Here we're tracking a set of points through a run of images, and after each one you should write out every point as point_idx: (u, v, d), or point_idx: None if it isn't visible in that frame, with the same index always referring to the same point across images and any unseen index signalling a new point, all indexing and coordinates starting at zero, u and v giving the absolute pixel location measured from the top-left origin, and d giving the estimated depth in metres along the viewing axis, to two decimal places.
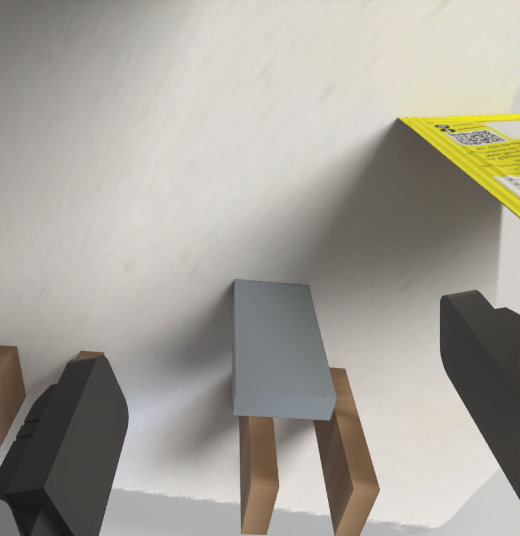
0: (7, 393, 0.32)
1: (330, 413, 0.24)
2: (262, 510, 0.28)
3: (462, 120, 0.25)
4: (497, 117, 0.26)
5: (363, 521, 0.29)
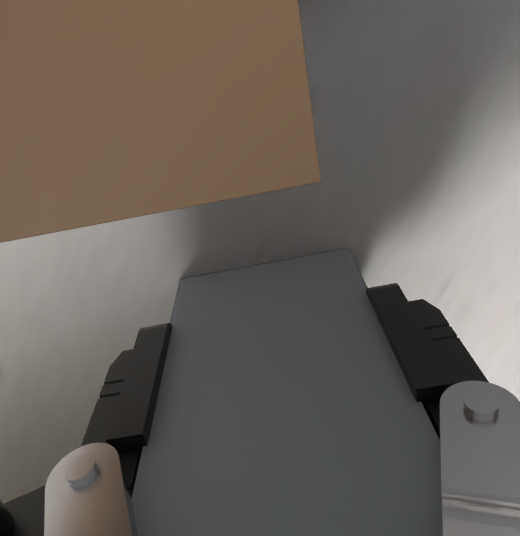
0: None
1: None
2: None
3: None
4: None
5: None
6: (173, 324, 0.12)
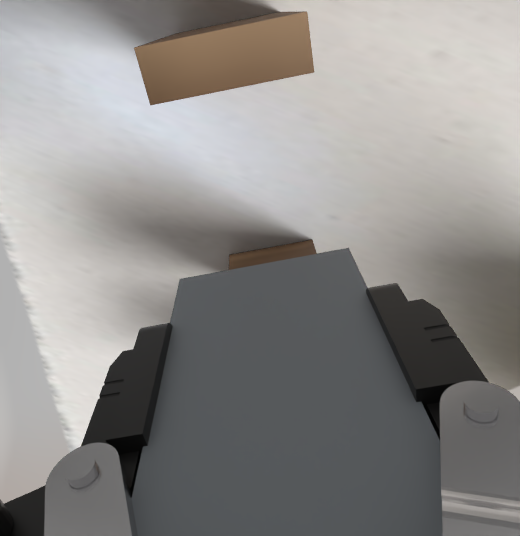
0: None
1: None
2: None
3: None
4: None
5: None
6: (173, 324, 0.12)
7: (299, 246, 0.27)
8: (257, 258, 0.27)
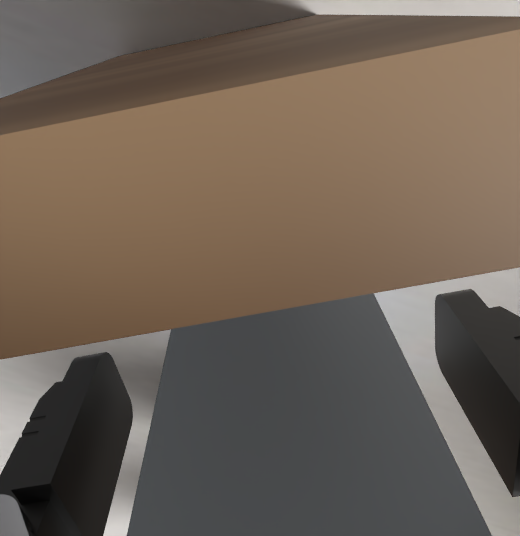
0: None
1: None
2: None
3: None
4: None
5: None
6: None
7: None
8: None
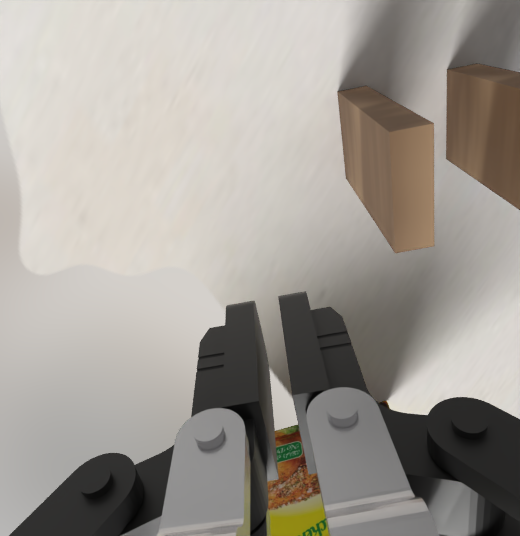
0: None
1: None
2: None
3: None
4: None
5: (395, 177, 0.18)
6: None
7: None
8: None
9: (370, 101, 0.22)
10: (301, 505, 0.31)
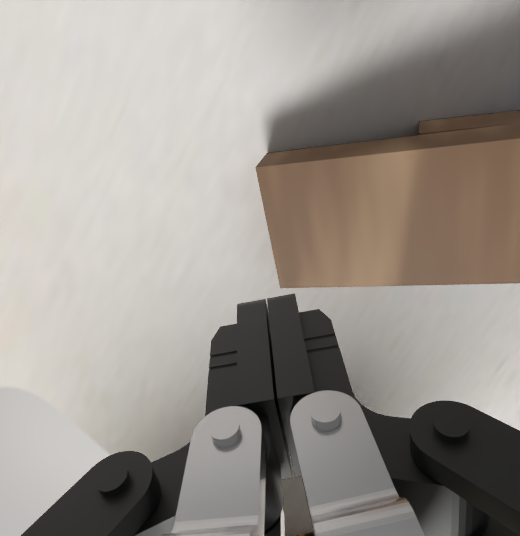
0: None
1: None
2: None
3: None
4: None
5: None
6: None
7: None
8: None
9: (383, 146, 0.15)
10: None
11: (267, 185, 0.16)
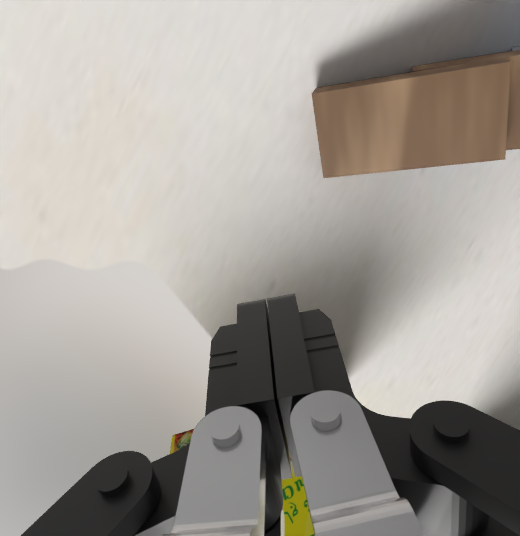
0: None
1: None
2: None
3: None
4: None
5: (508, 97, 0.24)
6: None
7: None
8: None
9: (390, 78, 0.25)
10: None
11: (318, 105, 0.26)
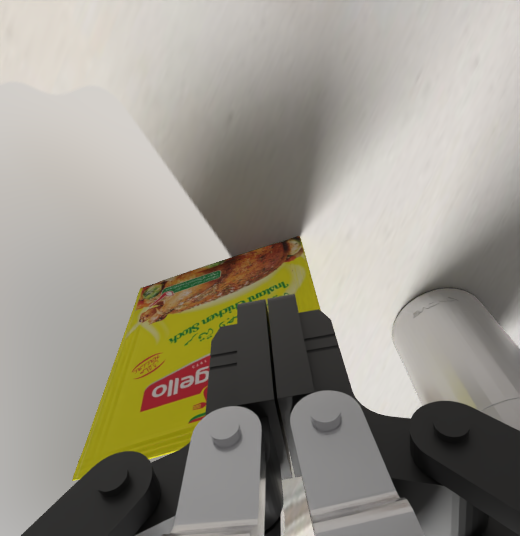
0: None
1: None
2: None
3: None
4: (243, 258, 0.41)
5: None
6: None
7: None
8: None
9: None
10: (210, 303, 0.35)
11: None
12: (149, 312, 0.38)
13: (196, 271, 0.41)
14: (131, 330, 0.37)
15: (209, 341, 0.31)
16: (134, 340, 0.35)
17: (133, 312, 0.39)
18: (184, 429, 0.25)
